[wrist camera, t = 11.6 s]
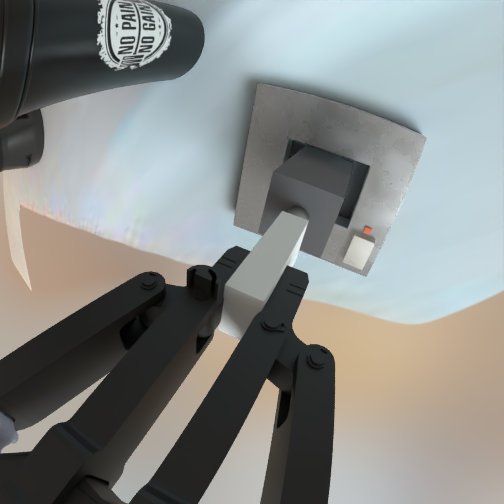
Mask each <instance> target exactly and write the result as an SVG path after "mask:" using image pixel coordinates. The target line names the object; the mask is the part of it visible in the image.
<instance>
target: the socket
mask: <svg viewBox="0 0 504 504" xmlns="http://www.w3.org/2000/svg"><path fill="white" fill-rule="evenodd" d="M293 140H296V141H300V142H303V143H306V144H309V145H312V146H316V147H319V148H322V149H325V150H328V151H331V152H333V153H336V154H339V155H342V156H345V157H348V158H350V159H353V160H356V161H358V162H361V163H364V164H366V165H369V168H368V171H367V174H366V177H365V179H364V182H363V185H362V188H361V191H360V193H359V196H358V199H357V201H356V204H355V207H354V209H353V212H352V215H351V217H350V219H348V218H345V217H343V216H340V215H338V217H337V219H336V222H335V224H334V227H333V229H332V231H331V234H330V236H329V239H328V241H327V244H326V246H325V248H324V251H323V253H322V256H321V258H320V259H323V260H325V261H328V262H330V263H333V264H335V265H338V266H340V267H343V268H345V269H348V270H350V271H353V272H355V273H358V274H360V275H363V276H365V277H366V276H367V274H368V272H369V270H370V269H371V267H372V265H373V263H374V261H375V259H376V257H377V255H378V253H379V251H380V249H381V247H382V245H383V243H384V241H385V239H386V237H387V234H388V232H389V230H390V228H391V226H392V224H393V222H394V219H395V217H396V215H397V213H398V210H399V208H400V206H401V204H402V201H403V199H404V196H405V194H406V192H407V189H408V187H409V184H410V182H411V179H412V177H413V174H414V172H415V169H416V166H417V164H418V161H419V158H420V156H421V153H422V150H423V147H424V144H425V141H426V137H425V136H423V135H422V134H420V133H418V132H416V131H413V130H411V129H409V128H407V127H404V126H402V125H399V124H397V123H395V122H392V121H390V120H387V119H385V118H382V117H380V116H377V115H374V114H372V113H369V112H366V111H363V110H360V109H358V108H355V107H352V106H349V105H345V104H342V103H339V102H336V101H333V100H329V99H326V98H322V97H319V96H315V95H311V94H308V93H304V92H300V91H296V90H291V89H287V88H283V87H278V86H273V85H268V84H258V85H257V90H256V95H255V101H254V106H253V112H252V117H251V123H250V128H249V134H248V140H247V145H246V151H245V157H244V163H243V169H242V175H241V181H240V187H239V193H238V199H237V205H236V211H235V218H234V224H233V225H235V226H237V227H240V228H243V229H245V230H248V231H250V232H253V233H256V234H258V235H261V236H263V234H260V233H258V231H259V227H260V222H261V218H262V214H263V210H264V206H265V202H266V198H267V194H268V190H269V186H270V182H271V178H272V174H273V171H274V170H276V169H277V168H278V167H279V166H281V165H282V164H283V163H284V162H285V161H287V160H288V159H289V157H290V153H291V149H292V144H293ZM300 251H302V250H300ZM302 252H304V251H302ZM305 253H307V252H305ZM307 254H309V253H307ZM310 255H311V254H310ZM312 256H314V255H312ZM315 257H316V256H315ZM318 258H319V257H318Z"/></svg>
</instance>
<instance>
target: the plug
mask: <svg viewBox="0 0 504 504" xmlns="http://www.w3.org/2000/svg"><path fill="white" fill-rule="evenodd" d="M353 166H354V163H353V162H351V161H348V160H346V159H343V158H340V157H338V156H335V155H333V154H330V153H327V152H324V151H322V150H319V149H316V148H313V147H310V146H307V145H306V146H304V147H303V148H302V149H301V150H299V151H298V152H297V153H296V154H294V155H293V156H292V157H290V158H289V159H288V160H287V161H285V162H284V163H283V164H282V165H281V166H279V167H278V168H277V169H276V170H274V171H273V174H272V178H271V182H270V186H269V190H268V194H267V198H266V202H265V206H264V210H263V214H262V218H261V222H260V227H259V231H258V233H260V234H263V235H264V234H265V233H266V231H267V230H268V229H269V227H270V226H271V225H272V224H273V222H274V221H275V220H276V218H277V217H278V216H279V215H280V213H281V212H282V211H284V212H287V213H290V214H292V215H295V216H298V217H301V218H303V219H306V220H309V221H308V224H307V228H306V231H305V234H304V237H303V240H302V243H301V246H300V249H299V250H302V251H304V252H307V253H309V254H311V255H314V256H316V257H319V258H321V256H322V253H323V251H324V248H325V246H326V244H327V241H328V239H329V236H330V234H331V231H332V229H333V227H334V224H335V222H336V219H337V217H338V214H339V211H340V209H341V206H342V204H343V201H344V198H345V195H346V192H347V188H348V185H349V181H350V177H351V174H352V170H353Z"/></svg>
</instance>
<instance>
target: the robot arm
mask: <svg viewBox="0 0 504 504" xmlns="http://www.w3.org/2000/svg"><path fill="white" fill-rule="evenodd" d="M43 145H44V132H43V123H42V118H41V113H40V110H39V109H37V110H34V111H31V112H29V113H26V114H23V115H21V116H18V117H17V118H16V119H15V120H14V121H13V122H12V123H10V124H8V125H7V126H6V127H3V128H1V129H0V172H2V171H4V170H11V169H19V168H28V167H30V166H32V165H35V164H37V163H38V162H39V161H40V159H41V156H42V153H43ZM308 221H309V220H306V219H303V218H301V217H298V216H295V215H292V214H290V213H287V212H284V211H282V212H281V213H280V215H279V216H278V217H277V218H276V220H275V221H274V222H273V224H272V225H271V226H270V227H269V229H268V230H267V231H266V233H265V234H264V235H263V236H262V238H261V239H260V240H259V242H258V243H257V244H256V245H255V247H254V248H253V249H252V250H251V251H248V250H246V249H243V248H241V247H238V246H235V247H233V248H231V249H228V250H227V251H226V252H225V253H224V254H223V256H222V257H221V258H220V259H219V260H218V261H217V262H216V263H215V264H214V266H213V267H210V266H207V265H196V266H192V267H190V268H189V269H187V286H185V287H181V286H175V285H170V284H166V283H165V279H164V278H163V276H162V275H160V274H159V273H156V272H144V273H141V274H139V275H137V276H135V277H134V278H132V279H130V280H128V281H127V282H125V283H123V284H121V285H120V286H118V287H116V288H115V289H113V290H111V291H110V292H108V293H106V294H104V295H103V296H101V297H99V298H98V299H96V300H94V301H93V302H91V303H90V304H88V305H86V306H84V307H83V308H81V309H80V310H78V311H76V312H75V313H73V314H71V315H70V316H68V317H67V318H65V319H63V320H62V321H60V322H59V323H57V324H55V325H54V326H52V327H51V328H49V329H47V330H46V331H44V332H42V333H41V334H39V335H38V336H36V337H35V338H33V339H32V340H30V341H28V342H27V343H25V344H24V345H22V346H21V347H19V348H18V349H16V350H15V351H13V352H12V353H10V354H9V355H7V356H6V357H4V358H3V359H1V360H0V453H1V450H2V449H3V448H4V447H5V446H7V445H9V444H10V443H16V442H17V441H18V434H17V432H16V431H18V430H22V429H25V428H28V427H30V426H33V425H34V424H36V423H38V422H39V421H41V420H43V419H44V418H46V417H47V416H48V415H50V414H51V413H53V412H54V411H55V410H57V409H58V408H60V407H61V406H63V405H64V404H65V403H67V402H68V401H70V400H71V399H73V398H74V397H75V396H77V395H78V394H80V393H81V392H83V391H84V390H85V389H87V388H88V387H90V386H91V385H92V384H94V383H95V382H96V381H98V380H99V379H101V378H102V377H104V376H105V375H106V374H108V373H109V372H110V373H109V374H108V375H107V376H106V377H105V378H104V380H103V381H102V382H101V383H100V384H99V385H98V387H97V388H96V389H95V390H94V392H93V393H92V394H91V395H90V396H89V397H88V398H87V400H86V401H85V402H84V403H83V404H82V406H81V407H80V408H79V409H78V411H77V412H76V413H75V414H74V415H73V417H72V418H71V419H70V420H68V421H67V422H62V423H58V424H56V425H54V426H52V427H51V428H50V429H49V430H48V432H47V433H46V434H45V435H44V436H43V438H42V439H41V440H40V441H39V443H38V444H37V445H36V446H35V448H34V449H33V450H32V451H30V452H19V453H3V454H0V504H127V503H125V502H123V501H121V500H120V499H119V498H118V497H117V496H116V494H115V493H114V492H113V491H112V490H111V489H112V487H113V486H114V485H115V483H116V482H117V481H118V479H119V478H120V476H121V475H122V473H123V469H124V465H125V463H126V462H127V460H128V459H129V457H130V456H131V455H132V453H133V452H134V450H135V449H136V448H137V446H138V445H139V443H140V442H141V441H142V439H143V438H144V436H145V435H146V434H147V432H148V431H149V429H150V428H151V426H152V425H153V424H154V422H155V421H156V419H157V418H158V417H159V415H160V414H161V412H162V411H163V410H164V408H165V407H166V405H167V404H168V402H169V401H170V400H171V398H172V397H173V395H174V394H175V393H176V391H177V390H178V388H179V387H180V385H181V384H182V382H183V381H184V380H185V378H186V377H187V375H188V374H189V372H190V371H191V369H192V368H193V366H194V365H195V364H196V362H197V361H198V359H199V358H200V356H201V355H202V353H203V352H204V351H205V349H206V348H207V346H208V345H209V343H210V342H211V340H212V339H213V336H214V330H215V329H216V327H217V326H218V325H219V330H220V331H222V332H224V333H226V334H228V335H230V336H233V337H235V338H237V339H239V340H240V342H239V343H238V345H237V347H236V348H235V350H234V352H233V353H232V355H231V357H230V358H229V360H228V362H227V363H226V365H225V367H224V368H223V370H222V371H221V373H220V375H219V376H218V378H217V379H216V381H215V383H214V384H213V386H212V387H211V389H210V391H209V392H208V394H207V396H206V397H205V398H204V400H203V402H202V403H201V405H200V406H199V408H198V409H197V411H196V413H195V414H194V416H193V417H192V419H191V420H190V422H189V423H188V425H187V426H186V428H185V429H184V431H183V433H182V434H181V436H180V437H179V439H178V440H177V442H176V443H175V445H174V446H173V448H172V449H171V451H170V452H169V454H168V455H167V457H166V458H165V459H164V461H163V463H162V464H161V465H160V467H159V468H158V470H157V471H156V473H155V474H154V476H153V477H152V478H151V480H150V481H149V482H148V483H147V484H146V485H145V486H143V488H141V489H140V490H139V491H138V493H136V495H135V496H134V497H133V499H132V500H131V501H130V503H129V504H198V502H199V501H200V499H201V498H202V496H203V494H204V493H205V491H206V489H207V488H208V486H209V484H210V483H211V481H212V479H213V478H214V476H215V474H216V473H217V470H218V469H219V467H220V466H221V464H222V462H223V460H224V459H225V457H226V455H227V453H228V451H229V450H230V448H231V446H232V444H233V442H234V441H235V438H236V437H237V435H238V433H239V431H240V429H241V427H242V426H243V424H244V422H245V420H246V418H247V416H248V414H249V412H250V410H251V408H252V406H253V404H254V402H255V400H256V398H257V396H258V394H259V392H260V390H261V388H262V386H263V384H264V382H265V380H266V378H267V379H268V380H270V381H271V382H272V383H273V384H274V385H275V386H277V387H278V388H279V395H278V402H277V409H276V416H275V423H274V429H273V436H272V441H271V447H270V454H269V459H268V465H267V471H266V476H265V481H264V487H263V492H262V497H261V502H260V504H328V497H329V496H328V495H329V487H330V477H331V465H332V452H333V435H334V409H335V406H334V405H335V361H334V357H333V355H332V354H331V352H330V351H329V350H328V349H326V348H325V347H323V346H320V345H317V344H310V345H306V344H304V343H303V342H302V341H300V339H299V338H297V336H296V335H295V333H294V331H293V329H292V322H293V319H294V317H295V314H296V312H297V309H298V307H299V305H300V302H301V300H302V298H303V295H304V293H305V290H306V288H307V285H308V283H309V280H308V274H307V273H305V272H303V271H300V270H298V269H295V268H293V265H294V263H295V261H296V258H297V255H298V252H299V249H300V246H301V243H302V240H303V237H304V234H305V231H306V228H307V224H308ZM219 323H220V324H219Z"/></svg>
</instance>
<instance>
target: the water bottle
mask: <svg viewBox="0 0 504 504" xmlns="http://www.w3.org/2000/svg"><path fill="white" fill-rule="evenodd" d="M203 46H204V29H203V25H202V23H201V21H200V19H199V18H198V17H197V16H196V15H195V14H194V13H192V12H191V11H189V10H186V9H182V8H179V7H176V6H172V5H169V4H165V3H161V2H157V1H153V0H0V129H1V128H3V127H6V126H7V125H8V124H10V123H12V122H13V121H14V120H15V119H16V118H17V117H18V116H21V115H23V114H26V113H29V112H31V111H34V110H37V109H40V108H43V107H46V106H49V105H52V104H55V103H58V102H61V101H65V100H68V99H72V98H75V97H79V96H83V95H87V94H91V93H95V92H99V91H104V90H108V89H113V88H118V87H124V86H129V85H135V84H141V83H148V82H155V81H164V80H172V79H176V78H178V77H180V76H182V75H184V74H185V73H187V72H188V71H189V70H190V69H191V68H192V67H193V66H194V65H195V63H196V62H197V60H198V59H199V57H200V55H201V52H202V49H203Z"/></svg>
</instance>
